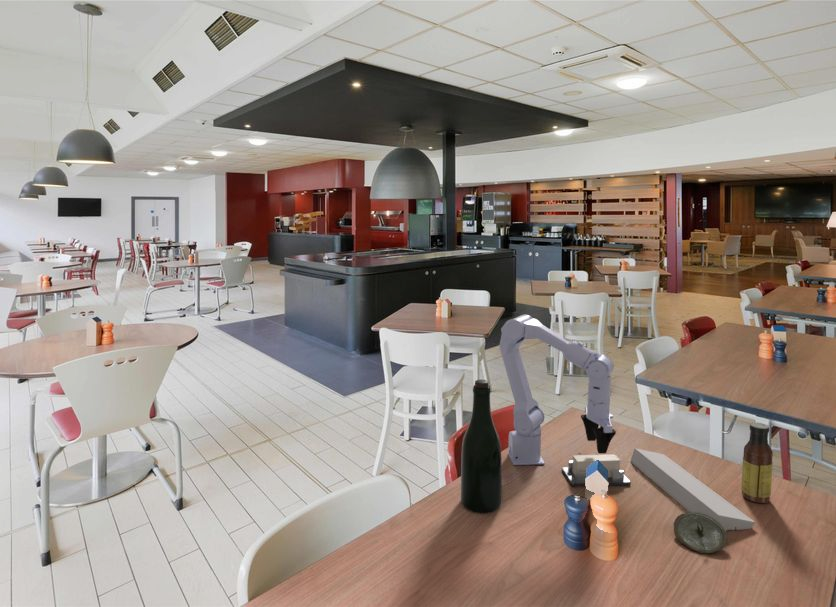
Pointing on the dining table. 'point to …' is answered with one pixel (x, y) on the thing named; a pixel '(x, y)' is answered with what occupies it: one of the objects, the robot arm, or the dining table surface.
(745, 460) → the sauce bottle
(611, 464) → the cream rectangular block
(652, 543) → the dining table surface
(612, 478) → the rack
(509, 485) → the dining table surface
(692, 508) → the long grey wedge ramp
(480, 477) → the dark green wine bottle
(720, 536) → the lid
